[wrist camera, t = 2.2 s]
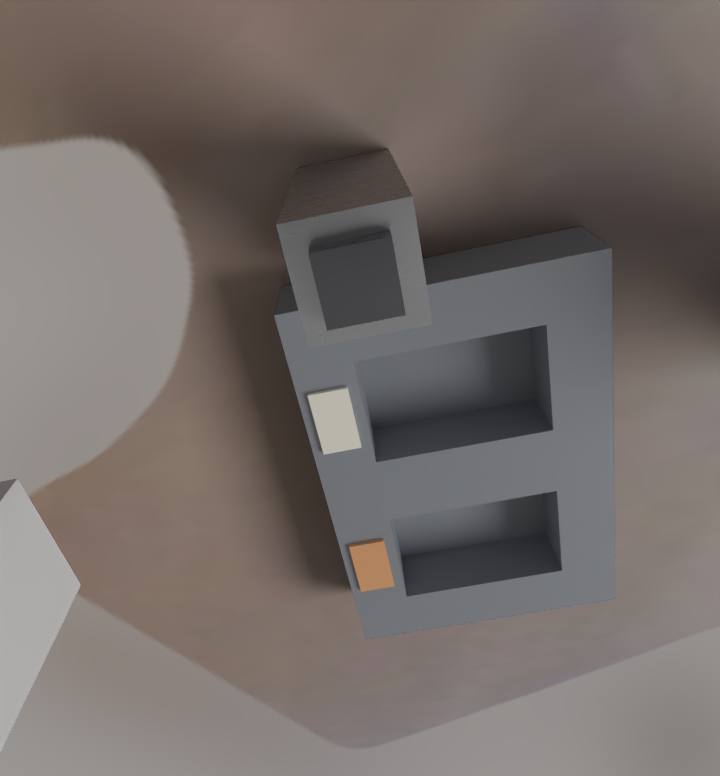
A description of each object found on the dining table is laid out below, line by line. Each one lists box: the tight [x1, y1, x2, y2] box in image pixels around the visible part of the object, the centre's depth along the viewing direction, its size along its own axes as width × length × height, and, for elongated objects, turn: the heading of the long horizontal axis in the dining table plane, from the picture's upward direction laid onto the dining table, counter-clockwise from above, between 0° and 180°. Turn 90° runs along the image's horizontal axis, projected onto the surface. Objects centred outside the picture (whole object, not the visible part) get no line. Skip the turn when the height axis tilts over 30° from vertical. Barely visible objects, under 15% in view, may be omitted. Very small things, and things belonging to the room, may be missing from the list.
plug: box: [276, 149, 433, 349], centre depth 23 cm, size 4×4×11 cm
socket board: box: [274, 226, 615, 640], centre depth 32 cm, size 20×14×4 cm
